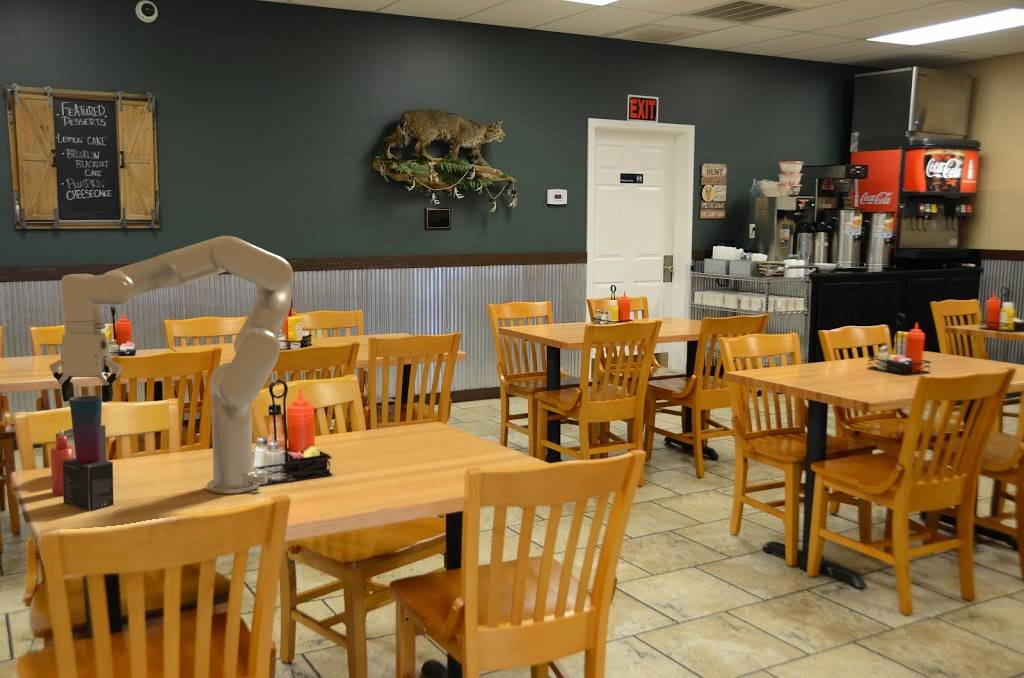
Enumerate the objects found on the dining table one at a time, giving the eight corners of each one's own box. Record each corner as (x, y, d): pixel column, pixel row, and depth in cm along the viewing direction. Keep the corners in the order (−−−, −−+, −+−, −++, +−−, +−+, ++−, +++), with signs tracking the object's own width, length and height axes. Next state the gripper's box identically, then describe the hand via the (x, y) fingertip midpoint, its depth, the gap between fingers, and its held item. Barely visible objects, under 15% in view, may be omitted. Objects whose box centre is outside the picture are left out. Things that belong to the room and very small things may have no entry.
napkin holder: (106, 470, 236) (105, 425, 234) (79, 483, 224) (77, 435, 222) (85, 469, 236) (84, 424, 235) (57, 481, 225) (55, 434, 223)
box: (115, 504, 208) (113, 461, 206) (89, 512, 202) (87, 467, 201) (88, 496, 213) (87, 454, 212) (62, 503, 208) (60, 460, 206)
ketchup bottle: (79, 490, 218) (77, 428, 216) (67, 496, 213) (64, 433, 211) (60, 489, 219) (58, 427, 217) (47, 495, 214) (45, 432, 212)
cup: (91, 465, 203) (89, 401, 201) (65, 463, 204) (62, 399, 202) (110, 458, 209) (108, 396, 207) (85, 456, 211) (82, 394, 209)
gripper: (127, 326, 205) (131, 398, 208) (58, 325, 207) (63, 396, 210) (108, 330, 198) (113, 405, 200) (37, 329, 200) (43, 403, 202)
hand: (88, 400), depth 205 cm, fingers open, 9 cm apart
